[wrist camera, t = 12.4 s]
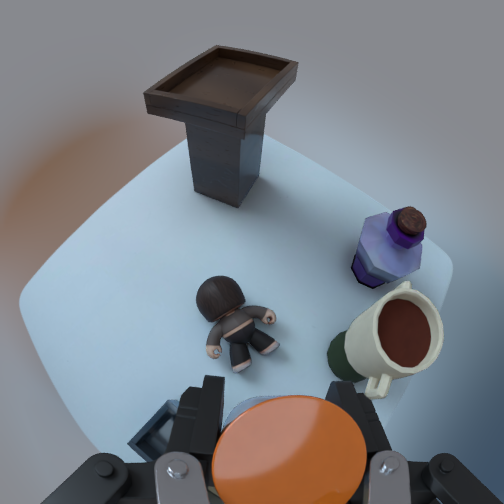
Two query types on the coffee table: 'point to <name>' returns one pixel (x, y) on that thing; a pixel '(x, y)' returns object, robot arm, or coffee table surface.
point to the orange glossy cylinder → (288, 452)
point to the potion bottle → (389, 247)
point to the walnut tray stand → (223, 114)
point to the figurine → (233, 321)
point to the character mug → (388, 341)
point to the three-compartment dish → (161, 439)
